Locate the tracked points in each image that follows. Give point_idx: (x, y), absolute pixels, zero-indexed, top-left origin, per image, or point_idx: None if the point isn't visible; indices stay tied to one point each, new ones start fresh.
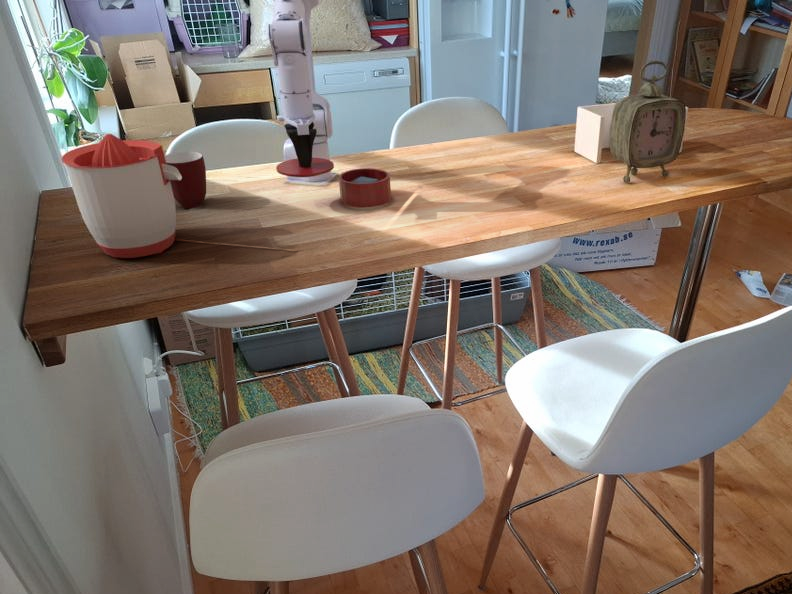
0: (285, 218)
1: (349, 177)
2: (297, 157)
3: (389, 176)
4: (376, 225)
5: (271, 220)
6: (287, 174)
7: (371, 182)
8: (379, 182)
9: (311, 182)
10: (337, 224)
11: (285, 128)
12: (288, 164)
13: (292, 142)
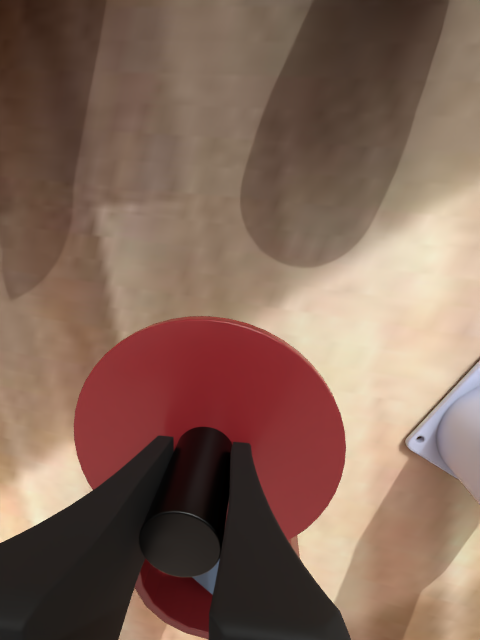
0: (156, 283)
1: None
2: (134, 457)
3: (185, 632)
4: (51, 482)
5: (151, 239)
6: (104, 356)
7: (140, 579)
8: (140, 595)
9: (441, 412)
10: (76, 405)
11: (209, 613)
12: (253, 386)
13: (31, 528)
